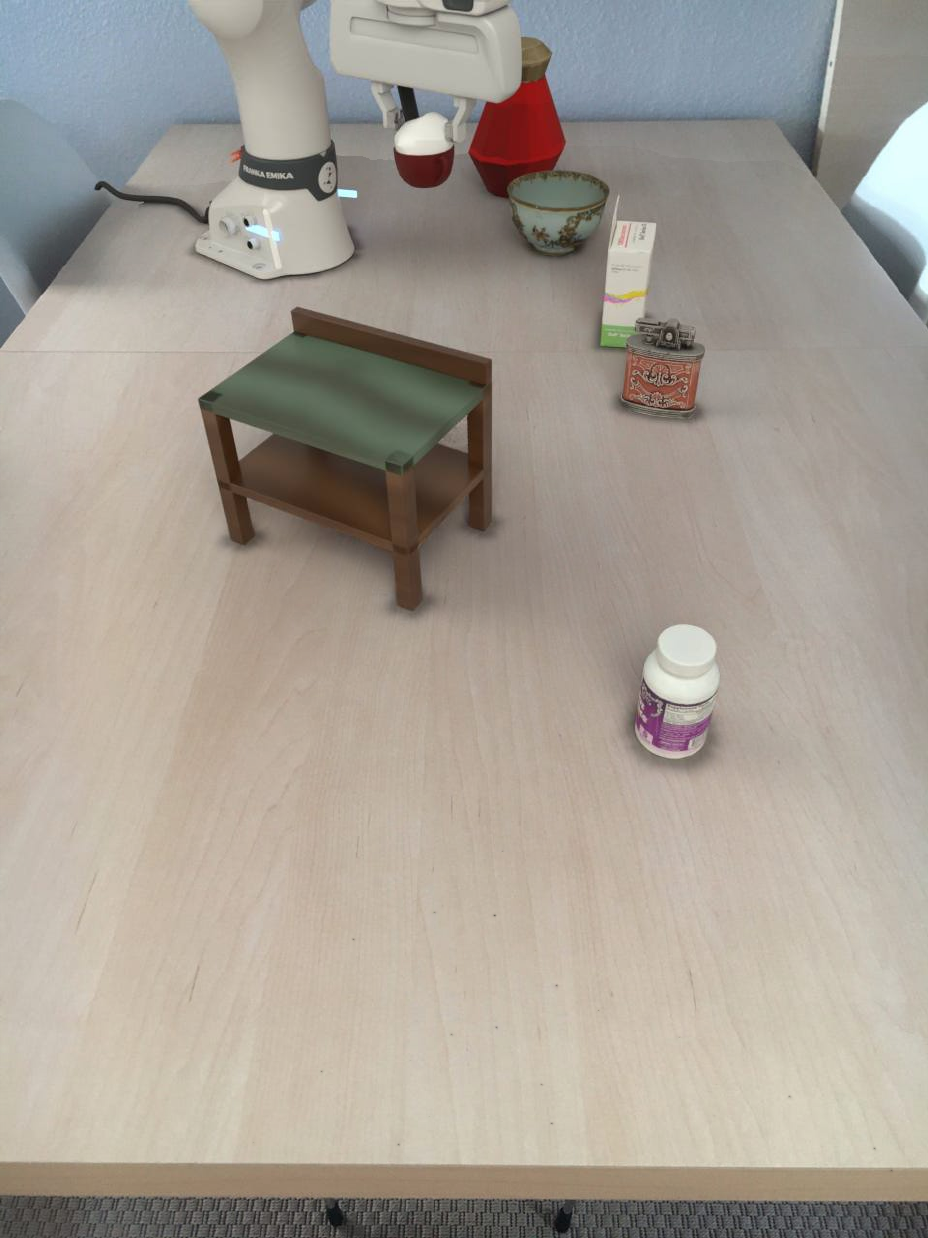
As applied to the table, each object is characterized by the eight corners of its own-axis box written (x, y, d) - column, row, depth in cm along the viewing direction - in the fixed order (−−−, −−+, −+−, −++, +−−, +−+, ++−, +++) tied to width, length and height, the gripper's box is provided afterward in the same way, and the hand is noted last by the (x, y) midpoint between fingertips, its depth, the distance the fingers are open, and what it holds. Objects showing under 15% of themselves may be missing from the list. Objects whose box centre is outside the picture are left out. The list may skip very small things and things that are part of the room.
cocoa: (459, 196, 101) (460, 66, 93) (398, 199, 100) (393, 68, 92) (447, 164, 108) (447, 39, 100) (390, 166, 107) (384, 42, 99)
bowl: (491, 259, 135) (491, 199, 129) (524, 221, 143) (526, 164, 138) (588, 274, 131) (592, 213, 125) (616, 234, 140) (621, 176, 134)
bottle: (519, 163, 161) (522, 22, 147) (583, 184, 154) (592, 38, 140) (449, 190, 153) (446, 44, 139) (513, 213, 146) (516, 62, 132)
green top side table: (412, 611, 84) (400, 443, 73) (230, 540, 92) (192, 376, 80) (492, 522, 93) (492, 358, 81) (319, 463, 100) (296, 305, 89)
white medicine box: (641, 350, 116) (656, 224, 106) (598, 347, 117) (609, 221, 106) (646, 316, 122) (660, 194, 112) (606, 313, 123) (616, 191, 112)
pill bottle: (627, 709, 76) (640, 618, 69) (695, 704, 76) (714, 613, 70) (642, 765, 72) (657, 674, 65) (714, 759, 72) (736, 668, 66)
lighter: (697, 405, 107) (711, 319, 100) (691, 421, 105) (705, 334, 98) (623, 393, 109) (632, 308, 102) (616, 409, 107) (625, 323, 100)
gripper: (308, -31, 93) (323, 126, 103) (499, -5, 86) (496, 161, 95) (346, -43, 97) (357, 109, 107) (532, -19, 90) (526, 142, 99)
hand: (424, 134), depth 101 cm, fingers closed on cocoa, 6 cm apart
